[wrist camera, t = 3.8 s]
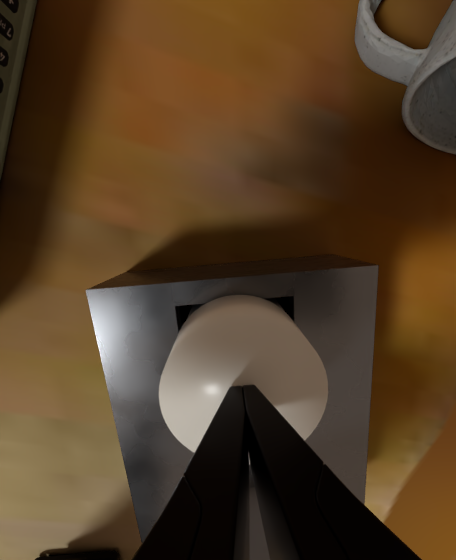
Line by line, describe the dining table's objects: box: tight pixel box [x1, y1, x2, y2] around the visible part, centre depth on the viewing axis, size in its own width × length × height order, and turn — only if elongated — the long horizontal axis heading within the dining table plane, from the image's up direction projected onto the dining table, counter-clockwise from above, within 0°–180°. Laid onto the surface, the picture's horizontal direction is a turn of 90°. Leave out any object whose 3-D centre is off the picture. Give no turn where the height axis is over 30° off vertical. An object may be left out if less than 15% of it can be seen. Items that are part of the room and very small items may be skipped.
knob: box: [159, 295, 328, 465], centre depth 11 cm, size 6×6×6 cm
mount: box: [86, 255, 379, 543], centre depth 13 cm, size 17×12×4 cm
